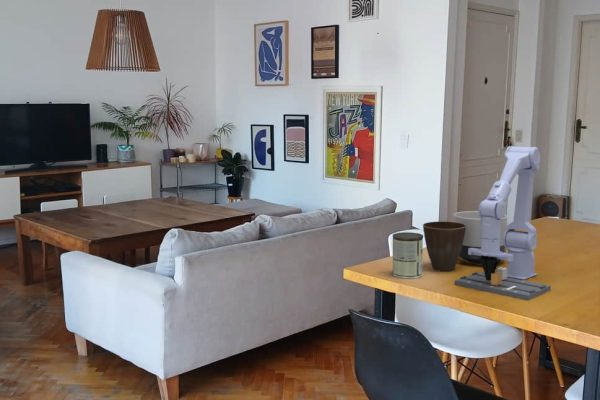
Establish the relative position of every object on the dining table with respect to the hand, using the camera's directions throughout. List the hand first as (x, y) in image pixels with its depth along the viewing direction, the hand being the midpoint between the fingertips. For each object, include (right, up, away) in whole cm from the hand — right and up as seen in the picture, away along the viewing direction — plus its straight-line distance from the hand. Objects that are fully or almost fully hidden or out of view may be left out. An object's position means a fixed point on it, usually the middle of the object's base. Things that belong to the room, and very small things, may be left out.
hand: (489, 279), depth 200 cm
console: (+4, -3, +1) cm, 5 cm away
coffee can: (-23, -1, +18) cm, 29 cm away
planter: (+7, +2, +37) cm, 37 cm away
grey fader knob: (+5, 0, +5) cm, 7 cm away
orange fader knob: (+2, -1, -2) cm, 3 cm away
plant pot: (-9, 0, +26) cm, 27 cm away
